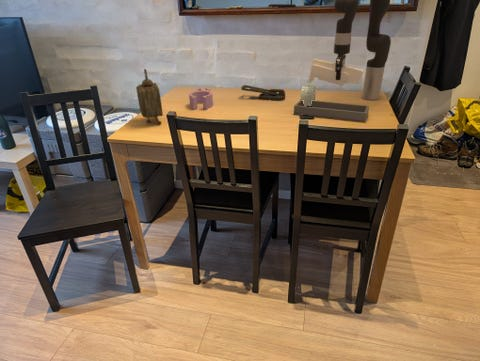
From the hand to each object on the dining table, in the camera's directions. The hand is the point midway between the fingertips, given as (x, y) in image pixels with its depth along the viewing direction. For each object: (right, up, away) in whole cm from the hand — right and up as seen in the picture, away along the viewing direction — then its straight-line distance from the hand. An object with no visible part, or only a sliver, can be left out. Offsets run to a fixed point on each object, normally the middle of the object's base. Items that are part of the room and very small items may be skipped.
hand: (339, 78), depth 175 cm
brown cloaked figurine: (-93, -23, -5) cm, 96 cm away
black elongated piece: (-37, -4, +25) cm, 45 cm away
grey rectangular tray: (-5, -19, -3) cm, 20 cm away
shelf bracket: (-2, -3, +2) cm, 4 cm away
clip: (-71, -10, +18) cm, 74 cm away
